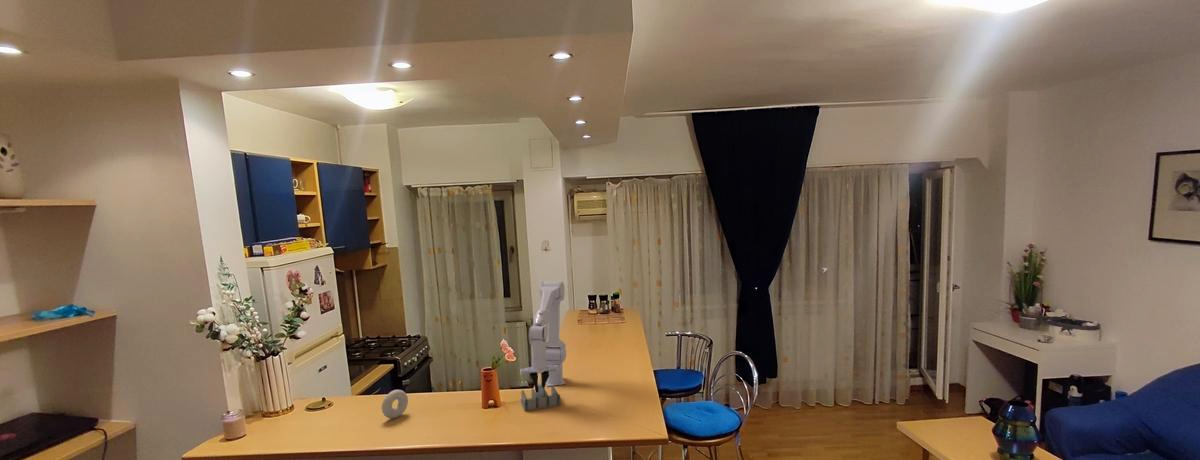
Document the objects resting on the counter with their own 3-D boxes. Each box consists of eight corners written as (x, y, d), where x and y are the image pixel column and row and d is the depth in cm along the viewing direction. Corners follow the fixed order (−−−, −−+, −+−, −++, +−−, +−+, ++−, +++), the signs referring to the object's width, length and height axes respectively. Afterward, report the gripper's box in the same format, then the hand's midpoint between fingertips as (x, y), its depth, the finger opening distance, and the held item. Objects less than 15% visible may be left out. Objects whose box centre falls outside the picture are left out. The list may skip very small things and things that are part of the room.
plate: (536, 398, 183) (535, 383, 183) (540, 397, 183) (540, 382, 183) (539, 404, 176) (538, 388, 176) (543, 403, 177) (543, 388, 177)
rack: (520, 401, 182) (520, 390, 182) (554, 396, 186) (554, 386, 186) (524, 411, 172) (524, 400, 172) (560, 405, 177) (560, 395, 176)
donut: (404, 411, 174) (403, 385, 174) (410, 413, 172) (409, 386, 172) (380, 421, 166) (379, 394, 165) (386, 424, 164) (385, 396, 163)
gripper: (521, 361, 173) (522, 397, 174) (559, 357, 178) (560, 392, 178) (518, 356, 180) (519, 390, 180) (555, 352, 184) (556, 385, 185)
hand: (539, 391), depth 180 cm, fingers closed on plate, 2 cm apart
